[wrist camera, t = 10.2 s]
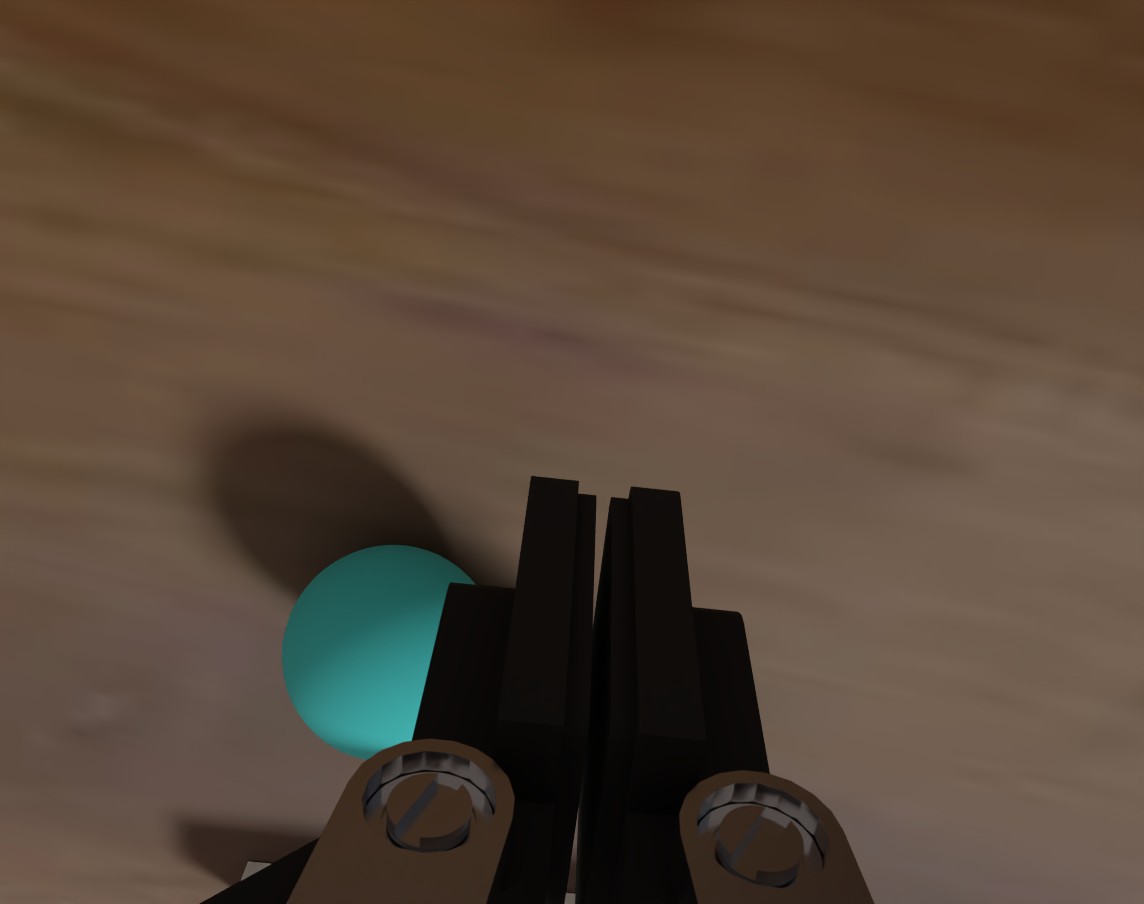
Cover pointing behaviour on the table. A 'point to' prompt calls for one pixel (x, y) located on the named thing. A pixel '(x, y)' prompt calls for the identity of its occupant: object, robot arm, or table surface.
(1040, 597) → the table surface
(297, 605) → the ball
